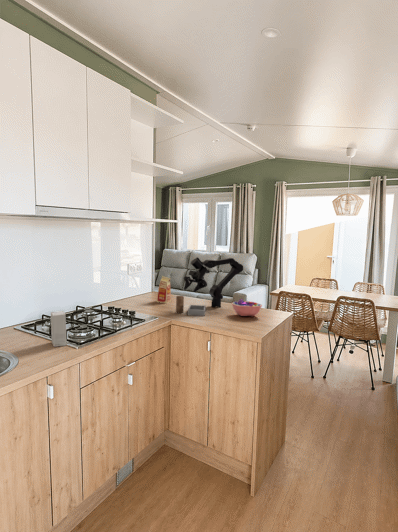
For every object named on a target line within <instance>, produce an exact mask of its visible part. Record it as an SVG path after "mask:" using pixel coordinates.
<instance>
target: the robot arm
mask: <svg viewBox="0 0 398 532" xmlns="http://www.w3.org/2000/svg"><path fill="white" fill-rule="evenodd" d="M190 265H191V266H192V267H193V268H194V270H192V269H191V270H189V272H188V275H187V276H186V275H185V276H184V277H183V280H184V282H185V284H184V287H183V290H184V291H186V290H187V289H188V288H190V286H191V285H192V283H196V286H195V288H194V289H193V292H194V293H195V292H197V291H199V290H201V289H204V288H206V287H208V282H207V281H206V279H204V277H205V275H206V274H210V269H213V268H215V267H217V266H223V265H229V266H230V267H231V268H230V271H229V272H228V273H227V275H225V276H224V277H223V279H221V280H220V281H219V282H218V284H212V286H211V287H210V288H209V295H210V297H211V298H212V299H211V307H212V308H222V300H223V298H224V295H223V294H222V292H223V289H224V288H225V287H226V286H227V285H228V284H229V282H230V281H231V280H232V279H233V278H234V277H235V276H236V275H240V274H241V273H242V272H243V271H244V265H243V264H242V263H240V262H238V261H237V260H236V259H234V258H232V257H229V258H221V259H205V260H204V261H202V260H201V259H200V258H199V257H196V258H194V259H192V260H191V262H190ZM190 276H191V277H190Z"/></svg>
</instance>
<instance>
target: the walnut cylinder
mask: <svg viewBox="0 0 398 532" xmlns="http://www.w3.org/2000/svg"><path fill="white" fill-rule="evenodd" d="M184 299H185V296H184V295H177V296H176V297H175V301H176V302H175V313H176V314H184V306H185V304H184V303H185V300H184Z"/></svg>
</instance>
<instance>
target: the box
mask: <svg viewBox="0 0 398 532" xmlns="http://www.w3.org/2000/svg"><path fill="white" fill-rule="evenodd" d="M206 307H207V306H206V305H202V304H201V305H200V304H199V305H198V304H190V305H189V306H188V309H187V316H199V317H200V316H201V317H204V316H205V314H206V310H207V309H206Z"/></svg>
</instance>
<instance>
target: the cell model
mask: <svg viewBox="0 0 398 532" xmlns="http://www.w3.org/2000/svg"><path fill="white" fill-rule="evenodd" d="M231 305H232V308H233V310H234V312H235V313H236V315H239V316H241V317H255V316H256V315H259V312H260V311H261V310H262V307H263V304H261V303H257V302H254V301H249V300H248V301H247V300H243V298H241V299H238V300H237V301H233V302H231Z"/></svg>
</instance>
